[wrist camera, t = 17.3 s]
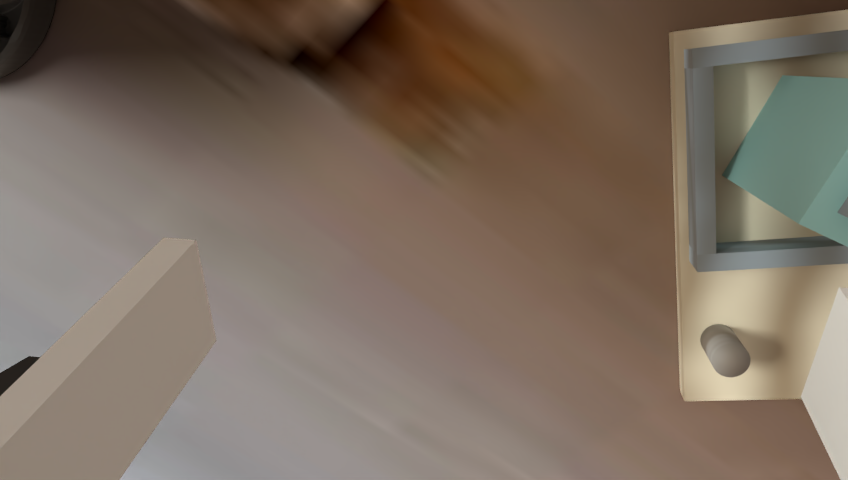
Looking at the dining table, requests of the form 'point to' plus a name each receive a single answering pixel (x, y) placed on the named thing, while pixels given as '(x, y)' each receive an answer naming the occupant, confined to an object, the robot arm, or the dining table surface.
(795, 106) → the pale green upright block
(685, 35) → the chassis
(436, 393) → the dining table surface
